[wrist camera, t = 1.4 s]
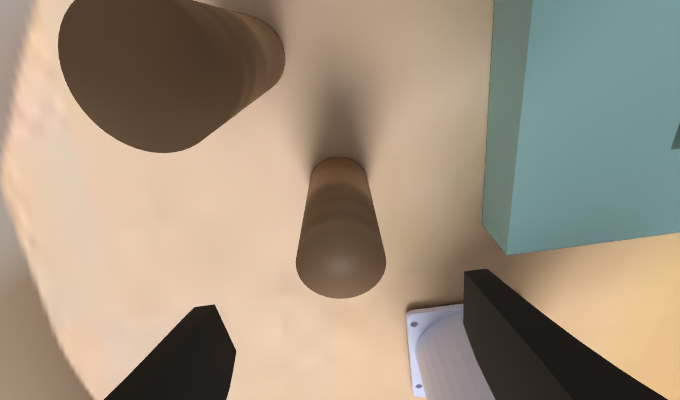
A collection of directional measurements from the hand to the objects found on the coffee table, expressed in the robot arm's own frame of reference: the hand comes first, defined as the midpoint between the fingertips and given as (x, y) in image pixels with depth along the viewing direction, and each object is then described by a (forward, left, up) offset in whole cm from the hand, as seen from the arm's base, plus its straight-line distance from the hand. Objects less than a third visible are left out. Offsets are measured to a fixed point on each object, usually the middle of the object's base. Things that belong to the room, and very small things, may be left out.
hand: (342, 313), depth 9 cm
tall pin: (+7, +3, -9) cm, 12 cm away
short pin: (0, 0, -9) cm, 9 cm away
